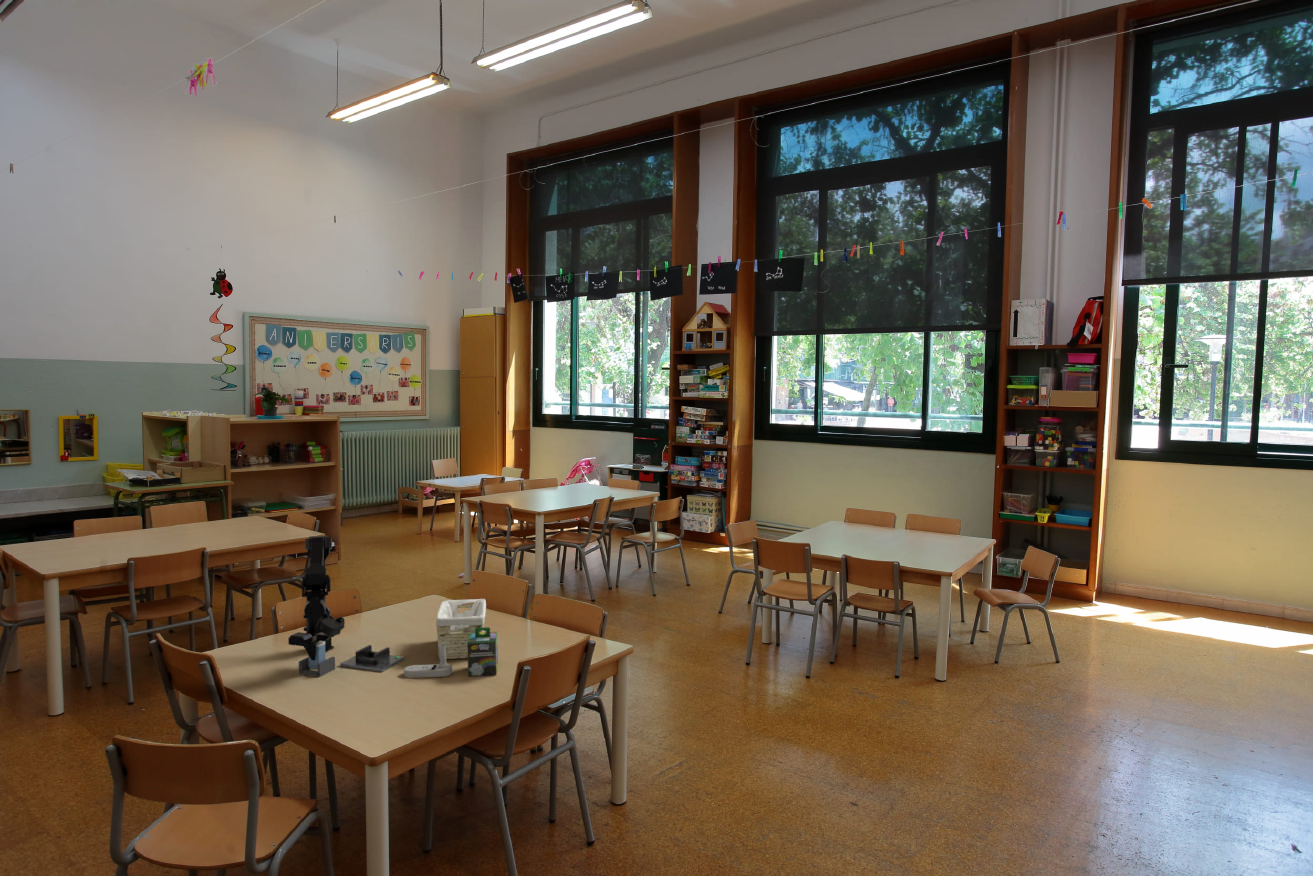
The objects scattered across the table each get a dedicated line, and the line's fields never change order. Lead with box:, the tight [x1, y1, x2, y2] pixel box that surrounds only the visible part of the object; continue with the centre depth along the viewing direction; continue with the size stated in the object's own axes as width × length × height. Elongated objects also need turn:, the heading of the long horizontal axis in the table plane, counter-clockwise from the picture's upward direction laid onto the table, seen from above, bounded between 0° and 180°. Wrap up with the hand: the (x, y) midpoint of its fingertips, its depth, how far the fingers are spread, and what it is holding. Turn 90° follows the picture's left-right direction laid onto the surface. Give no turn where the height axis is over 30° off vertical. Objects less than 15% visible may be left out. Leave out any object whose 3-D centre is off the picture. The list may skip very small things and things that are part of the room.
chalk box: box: [467, 626, 499, 677], centre depth 250 cm, size 9×9×15 cm
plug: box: [308, 641, 326, 669], centre depth 248 cm, size 4×3×8 cm
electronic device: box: [403, 644, 453, 679], centre depth 247 cm, size 5×10×15 cm
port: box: [339, 644, 405, 673], centre depth 256 cm, size 16×12×4 cm
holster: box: [298, 656, 336, 678], centre depth 248 cm, size 8×7×4 cm
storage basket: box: [435, 598, 487, 660], centre depth 271 cm, size 24×16×15 cm
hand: (316, 658), depth 248 cm, fingers closed on plug, 3 cm apart
